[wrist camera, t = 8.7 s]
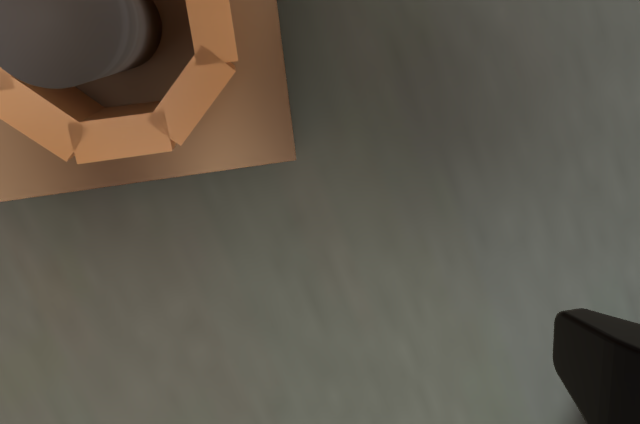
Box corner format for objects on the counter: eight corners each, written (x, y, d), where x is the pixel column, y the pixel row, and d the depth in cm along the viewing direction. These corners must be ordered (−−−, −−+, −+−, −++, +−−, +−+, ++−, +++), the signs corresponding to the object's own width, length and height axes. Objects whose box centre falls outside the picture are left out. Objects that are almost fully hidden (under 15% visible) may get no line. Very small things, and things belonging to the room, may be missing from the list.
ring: (212, -106, 15) (208, -139, 12) (247, 123, 17) (250, 140, 14) (-31, -84, 15) (-93, -114, 12) (34, 152, 17) (-7, 176, 14)
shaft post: (252, -155, 16) (273, -319, 9) (291, 151, 19) (332, 224, 12) (-78, -129, 15) (-375, -290, 8) (12, 189, 18) (-141, 297, 11)
